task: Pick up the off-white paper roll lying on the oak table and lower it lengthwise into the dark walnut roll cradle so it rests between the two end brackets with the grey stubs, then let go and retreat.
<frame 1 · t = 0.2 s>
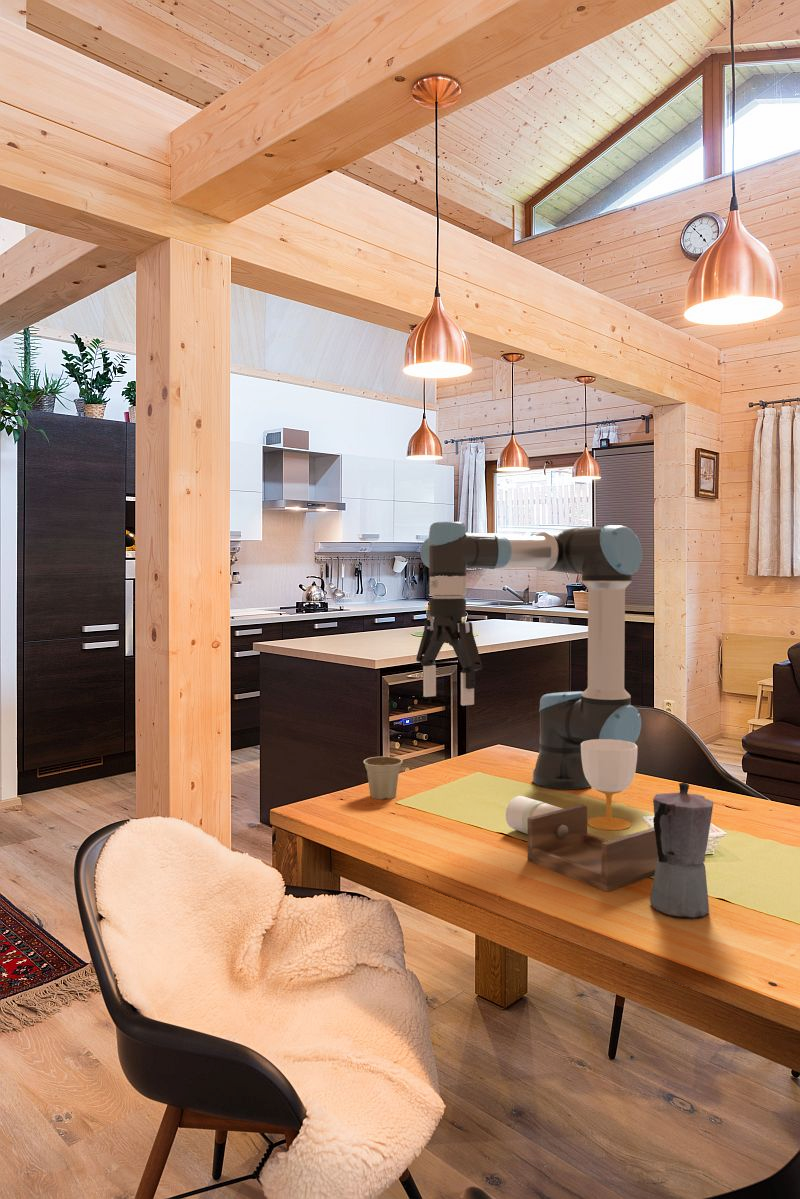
hand: (448, 700, 168), 27 cm above the table, fingers open, 13 cm apart
moka pot: (679, 910, 130), on the table
roll: (538, 836, 166), on the table
holder: (593, 866, 149), on the table
cup: (608, 825, 174), on the table
flower pot: (383, 797, 197), on the table
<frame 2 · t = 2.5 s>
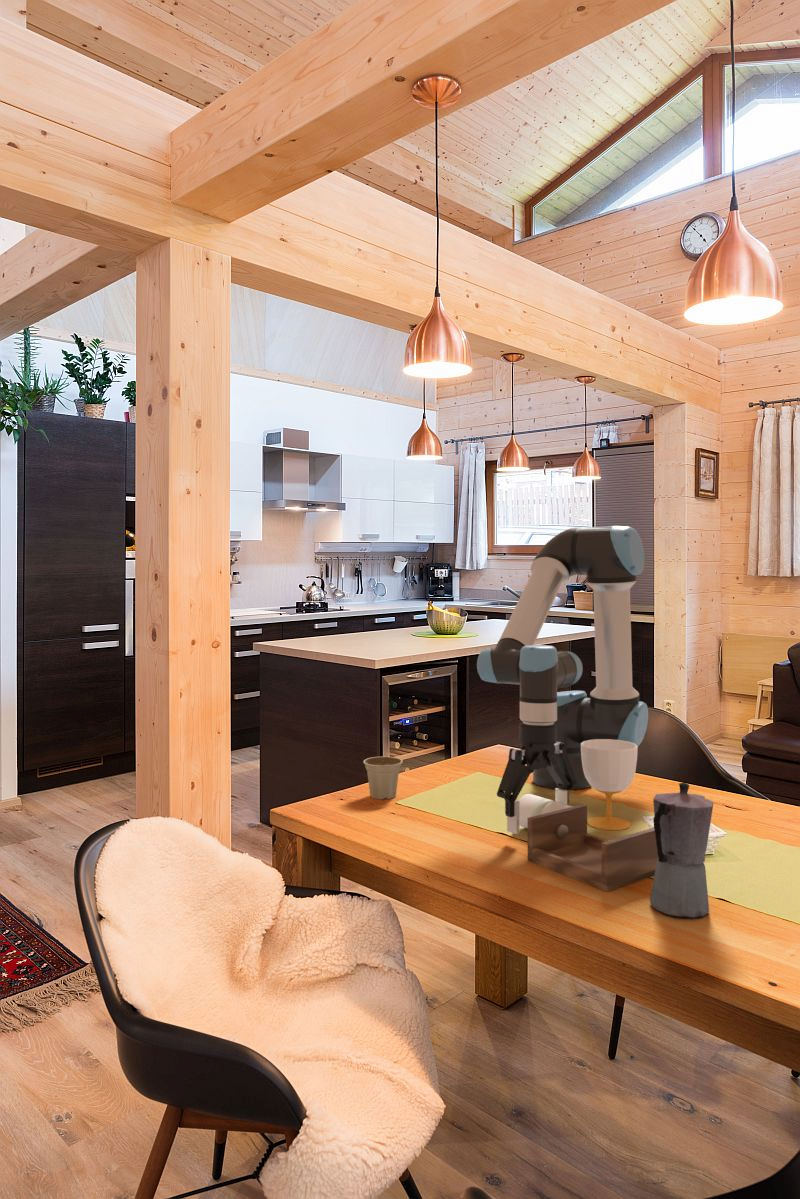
hand: (537, 826, 166), 2 cm above the table, fingers open, 13 cm apart
roll: (539, 831, 166), point 1 cm above the table, tilted 43°, touching gripper
everything else where it was.
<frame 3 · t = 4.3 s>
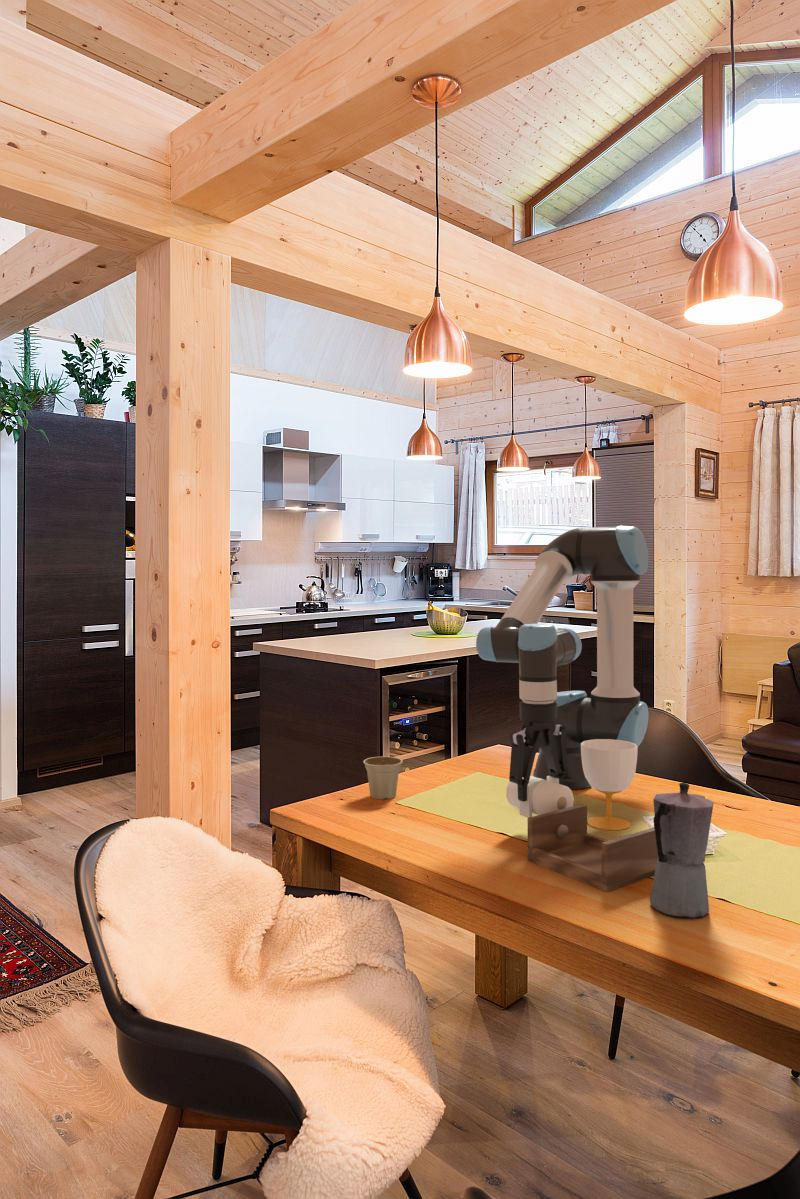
hand: (539, 812, 166), 5 cm above the table, fingers closed on roll, 7 cm apart
roll: (537, 813, 166), point 5 cm above the table, tilted 11°, touching gripper
everything else where it was.
when the fingers open (3 cm above the table, at t = 8.7 s): roll drops 1 cm, resting on holder.
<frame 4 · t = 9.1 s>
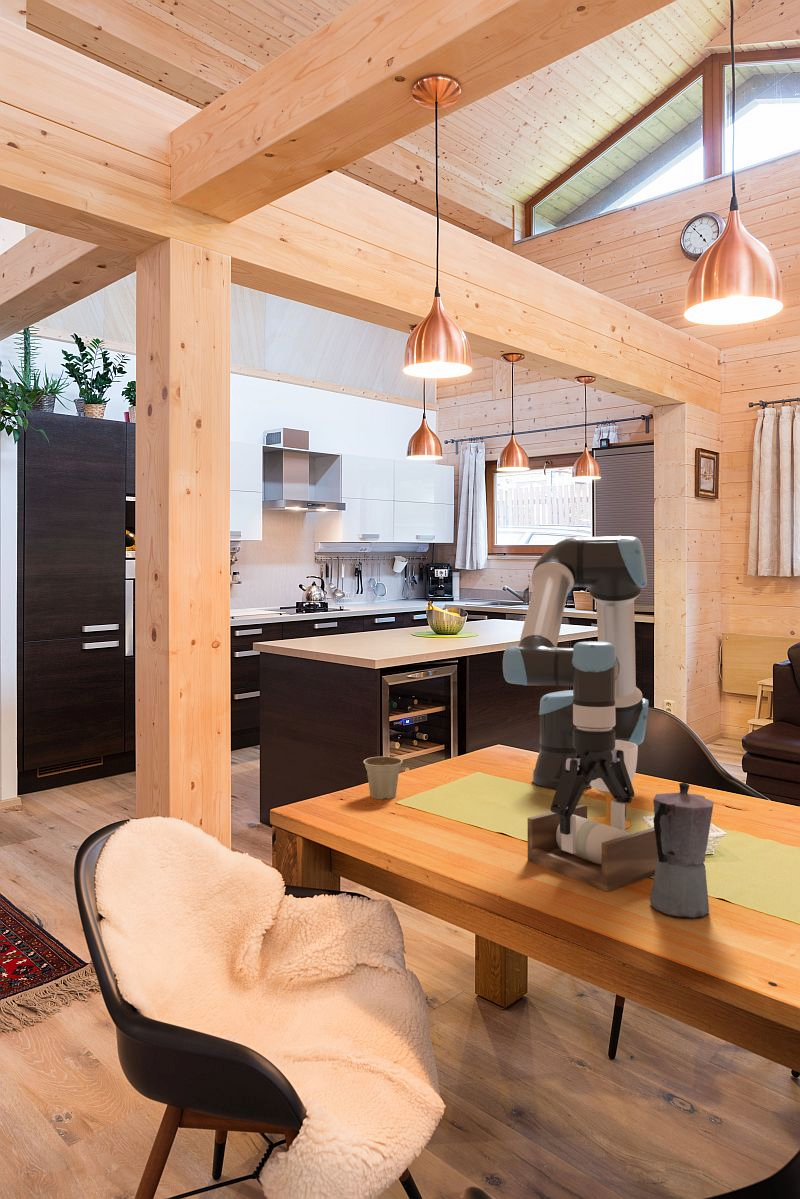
hand: (593, 844, 149), 4 cm above the table, fingers open, 13 cm apart
roll: (590, 860, 149), point 1 cm above the table, tilted 13°, touching holder
everything else where it was.
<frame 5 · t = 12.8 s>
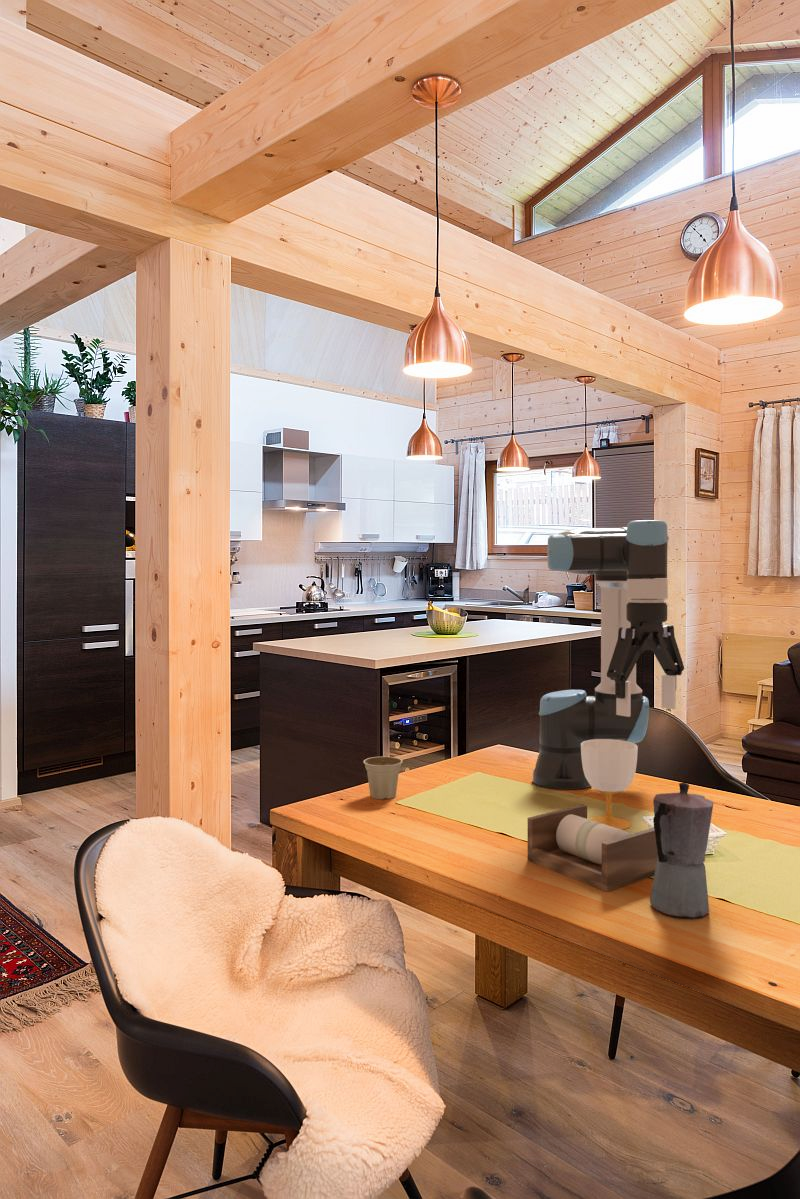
hand: (646, 712, 157), 27 cm above the table, fingers open, 13 cm apart
nothing on the table moved.
at the end: roll inside the target area on the holder (0.7 cm from its centre), point 1.1 cm above the holder's base; the gripper is holding nothing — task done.
